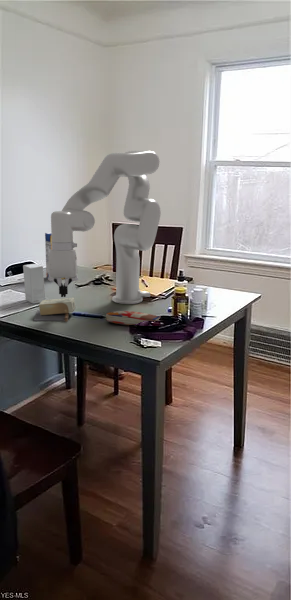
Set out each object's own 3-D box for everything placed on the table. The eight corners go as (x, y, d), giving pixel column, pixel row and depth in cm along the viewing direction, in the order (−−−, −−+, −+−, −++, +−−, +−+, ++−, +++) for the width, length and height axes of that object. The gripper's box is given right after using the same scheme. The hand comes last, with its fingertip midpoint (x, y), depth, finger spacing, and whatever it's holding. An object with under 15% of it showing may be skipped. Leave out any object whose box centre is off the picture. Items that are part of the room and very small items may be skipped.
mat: (66, 311, 186) (66, 310, 186) (64, 320, 175) (64, 319, 174) (37, 311, 185) (37, 310, 185) (33, 321, 173) (33, 320, 173)
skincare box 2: (76, 308, 184) (44, 310, 185) (74, 297, 183) (42, 299, 183) (72, 313, 178) (40, 315, 178) (71, 301, 176) (38, 304, 177)
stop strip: (69, 310, 187) (69, 306, 187) (67, 321, 174) (67, 317, 173) (66, 310, 187) (66, 306, 187) (64, 321, 174) (64, 317, 173)
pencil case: (117, 317, 181) (117, 304, 180) (165, 325, 173) (165, 312, 172) (101, 325, 172) (101, 311, 170) (151, 334, 163) (151, 320, 162)
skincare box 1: (45, 302, 197) (44, 266, 193) (31, 304, 194) (30, 267, 190) (38, 297, 204) (36, 262, 200) (24, 299, 201) (22, 264, 197)
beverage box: (46, 277, 241) (44, 233, 235) (66, 275, 247) (65, 231, 241) (51, 280, 235) (50, 234, 229) (72, 277, 241) (71, 233, 235)
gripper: (83, 245, 178) (84, 293, 183) (42, 244, 176) (43, 293, 181) (83, 248, 171) (83, 298, 175) (39, 248, 169) (41, 298, 174)
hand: (63, 296), depth 178 cm, fingers closed
